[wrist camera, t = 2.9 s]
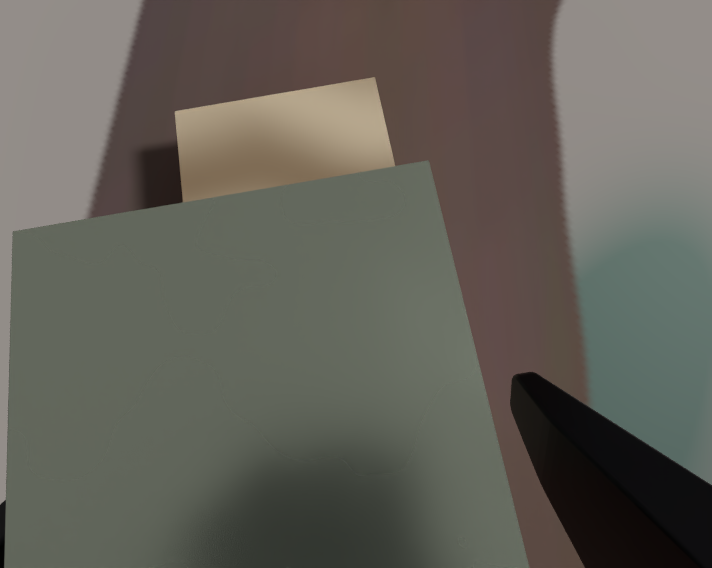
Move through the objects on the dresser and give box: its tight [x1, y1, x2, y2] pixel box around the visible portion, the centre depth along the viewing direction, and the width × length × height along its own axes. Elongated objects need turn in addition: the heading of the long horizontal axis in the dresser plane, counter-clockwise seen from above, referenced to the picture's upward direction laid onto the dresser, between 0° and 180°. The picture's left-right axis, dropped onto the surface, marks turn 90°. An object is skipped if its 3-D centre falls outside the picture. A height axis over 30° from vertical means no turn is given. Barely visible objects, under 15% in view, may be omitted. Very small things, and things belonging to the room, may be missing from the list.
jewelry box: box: [175, 77, 395, 202], centre depth 18 cm, size 8×8×3 cm
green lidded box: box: [4, 160, 529, 568], centre depth 11 cm, size 6×6×12 cm
